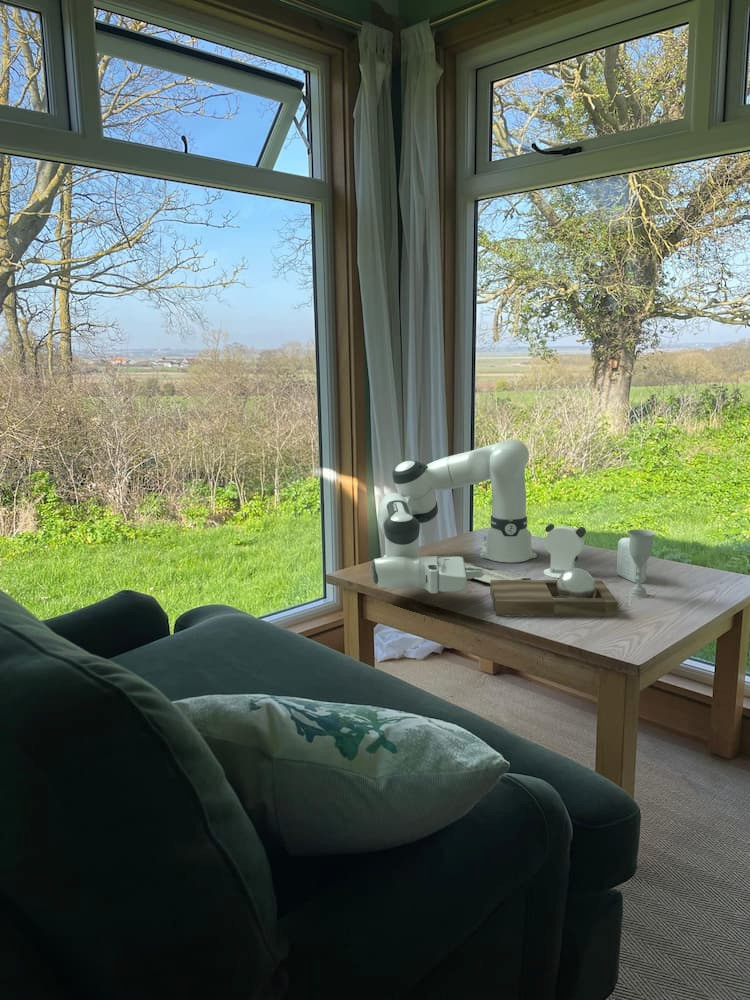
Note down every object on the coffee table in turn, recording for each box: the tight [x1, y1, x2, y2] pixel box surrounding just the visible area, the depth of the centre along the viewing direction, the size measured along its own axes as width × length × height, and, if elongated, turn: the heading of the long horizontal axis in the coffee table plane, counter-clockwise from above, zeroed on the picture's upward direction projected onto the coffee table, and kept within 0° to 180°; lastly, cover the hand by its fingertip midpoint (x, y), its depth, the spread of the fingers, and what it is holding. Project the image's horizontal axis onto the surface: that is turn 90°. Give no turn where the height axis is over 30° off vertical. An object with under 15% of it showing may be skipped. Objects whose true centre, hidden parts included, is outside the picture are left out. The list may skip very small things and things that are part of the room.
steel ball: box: [557, 567, 595, 598], centre depth 193 cm, size 10×10×10 cm
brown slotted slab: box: [489, 579, 619, 617], centre depth 194 cm, size 18×31×4 cm, turn 86°
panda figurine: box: [543, 523, 587, 579], centre depth 220 cm, size 12×11×15 cm
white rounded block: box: [616, 537, 648, 584], centre depth 214 cm, size 10×4×12 cm, turn 17°
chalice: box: [627, 529, 656, 599], centre depth 199 cm, size 7×7×18 cm
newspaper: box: [436, 555, 532, 584], centre depth 222 cm, size 35×12×4 cm, turn 44°
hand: (482, 572), depth 194 cm, fingers closed
